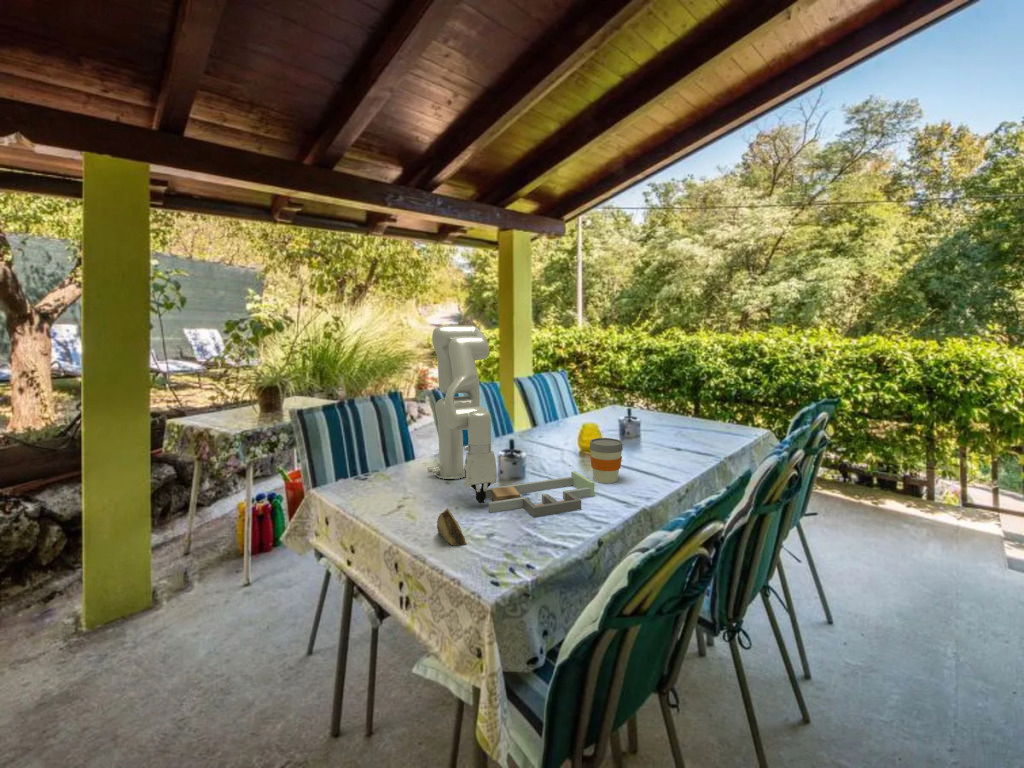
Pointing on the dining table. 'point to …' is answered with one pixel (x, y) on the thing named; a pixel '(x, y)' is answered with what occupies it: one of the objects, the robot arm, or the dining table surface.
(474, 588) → the dining table surface
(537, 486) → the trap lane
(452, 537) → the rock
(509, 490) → the walnut block
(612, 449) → the reusable coffee cup
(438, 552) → the dining table surface
